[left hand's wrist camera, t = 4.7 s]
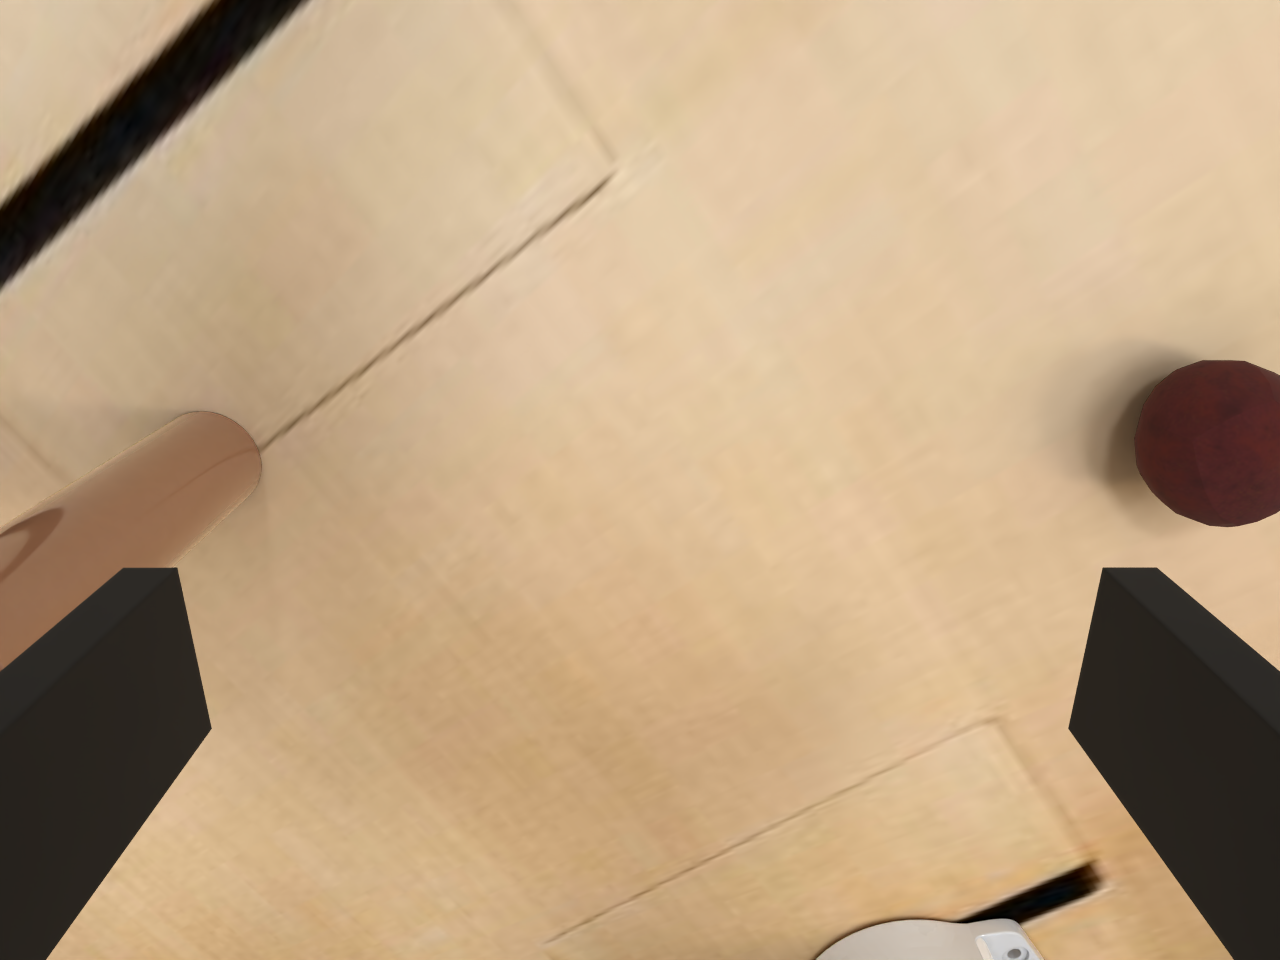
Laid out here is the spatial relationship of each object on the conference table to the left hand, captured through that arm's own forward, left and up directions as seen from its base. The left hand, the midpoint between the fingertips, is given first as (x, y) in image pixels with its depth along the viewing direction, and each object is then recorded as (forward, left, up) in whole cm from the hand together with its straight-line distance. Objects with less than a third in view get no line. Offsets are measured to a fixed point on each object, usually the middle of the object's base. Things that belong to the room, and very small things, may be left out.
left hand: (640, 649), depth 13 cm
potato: (+6, +27, -31) cm, 42 cm away
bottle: (+9, -22, -31) cm, 39 cm away
